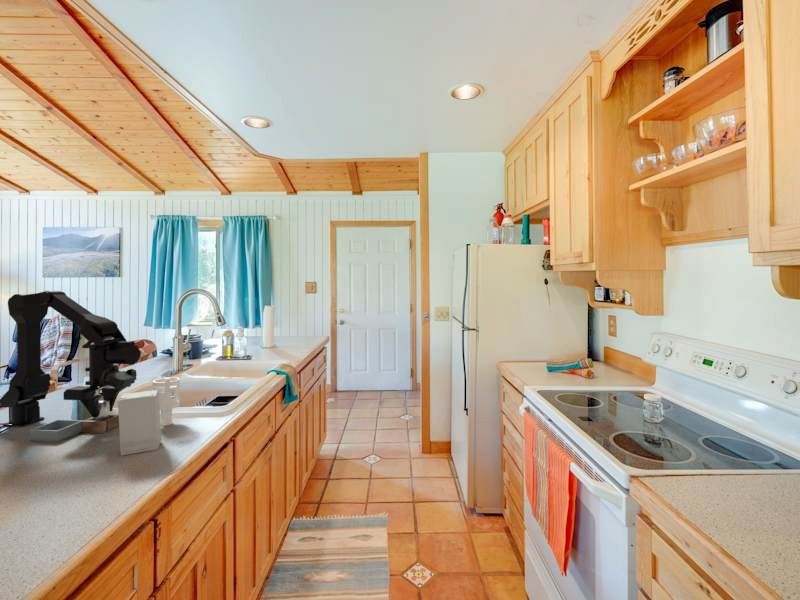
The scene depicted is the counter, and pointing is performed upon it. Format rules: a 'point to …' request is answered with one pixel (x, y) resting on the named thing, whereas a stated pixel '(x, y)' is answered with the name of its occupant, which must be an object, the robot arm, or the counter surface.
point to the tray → (56, 430)
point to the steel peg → (103, 410)
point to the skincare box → (139, 422)
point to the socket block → (100, 424)
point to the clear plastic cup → (167, 397)
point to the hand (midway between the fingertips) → (102, 414)
